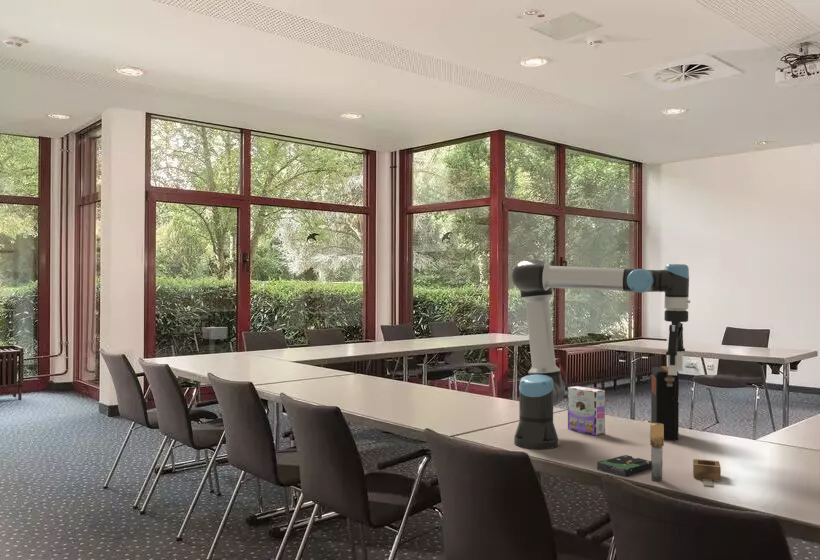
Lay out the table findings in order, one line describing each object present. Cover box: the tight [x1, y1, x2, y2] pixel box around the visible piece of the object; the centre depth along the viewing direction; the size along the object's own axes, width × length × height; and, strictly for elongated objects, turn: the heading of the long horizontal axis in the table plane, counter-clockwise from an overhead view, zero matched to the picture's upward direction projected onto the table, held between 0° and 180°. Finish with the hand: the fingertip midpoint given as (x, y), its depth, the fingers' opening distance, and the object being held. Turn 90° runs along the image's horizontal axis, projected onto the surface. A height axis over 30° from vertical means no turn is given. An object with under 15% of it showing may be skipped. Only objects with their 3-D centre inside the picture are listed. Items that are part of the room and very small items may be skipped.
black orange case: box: [650, 365, 680, 441], centre depth 252 cm, size 16×9×25 cm, turn 168°
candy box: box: [567, 385, 606, 436], centre depth 259 cm, size 14×6×16 cm, turn 34°
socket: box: [692, 458, 722, 482], centre depth 199 cm, size 7×7×4 cm
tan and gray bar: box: [649, 422, 665, 483], centre depth 196 cm, size 4×4×16 cm
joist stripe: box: [702, 478, 714, 488], centre depth 199 cm, size 2×21×1 cm, turn 159°
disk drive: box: [596, 454, 651, 478], centre depth 207 cm, size 10×3×15 cm
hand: (675, 372), depth 231 cm, fingers open, 13 cm apart
